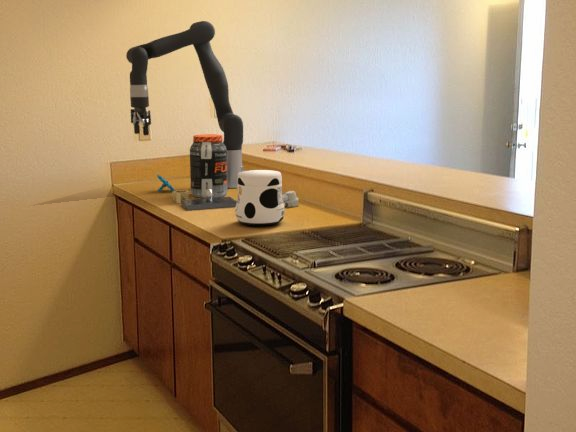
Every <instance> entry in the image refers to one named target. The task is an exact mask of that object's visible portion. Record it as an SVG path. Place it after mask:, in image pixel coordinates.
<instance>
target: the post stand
mask: <svg viewBox="0 0 576 432" xmlns="http://www.w3.org/2000/svg"><path fill="white" fill-rule="evenodd" d="M236 204H237V200H236V199H234V198H232V197H231V196H222V197H214V198H212V189H206V198H191V199H190V198H189V199H188V200H181V204H180V205H181V206H182V207H183V208H184V209H185V210H186V211H196V210H198V211H199V210H210V209H211V210H212V209H213V210H214V209H225V208H236Z"/></svg>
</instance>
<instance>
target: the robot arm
mask: <svg viewBox="0 0 576 432" xmlns="http://www.w3.org/2000/svg"><path fill="white" fill-rule="evenodd" d="M215 35H216V30H215V27H214V25H213V23H211V22H209V21H206V20H201V21H196V22H194V23H192V24H191V25H190V26H189V29H187V30H184V31H181V32H177V33H174V34H173V33H172V34H170V35H167V36H162V37H160V38H157V39H154V40H151V41H150V42H147V43H143V44H139V45H136V46H133V47H131V48H129V49H127V52H126V55H125V57H126V60H127V62H128V63H130V64H131V71H130V72H129V98H130V107H131V108H132V109H130V124H132V125H133V128H134V129H133V130H134V131H133V132H134V134H135V135H138V134H140V133H141V130H140V122H141V124H142V132H143V133H142V134H143V135H144V136H149V135H150V133H149V131H150V129H149V126H150V125H152V117H151V110H150V109H147V108H149V106H150V102H149V101H150V99H149V88H148V79H147V78H148V75H147V72H148V64H149V60H151V59H157V58H161V57H163V56H166V55H168V54H171V53H173V52H175V51H178V50H180V49H183V48H186V47H188V46H192V45H193V48H194V50H195V53H196V54H197V58H198V61H199V64H200V67H201V71H202V74H203V77H204V80H205V84H206V86H207V89H208V91H209V95H210V98H211V101H212V102H213V106H214V110H215V112H216V113H215V114H216V117H217V119H216V120H217V123H218V127H219V129H220V131H221V132H222V133H223V141H222V143H223V144H224V145H225V146H226V149H227V189H238V188H237V185H238V182H237V178H238V173H239V172H242V171H245V170H244V165H243V152H242V151H243V150H242V149H243V142H244V123H243V122H244V121H243V120H242V118H241V116H239V115H237V114H235V113H234V112H233V108H232V105H231V103H230V99H229V97H230V96H229V94H230V93H229V83H228V79H227V76H226V71H225V70H224V67H223V65H222V64H221V62H220V61H219V59H218V58H217V56H216V55H215V53H214V51H213V48H212V45H211V41H212V40H213V39H214V37H215Z"/></svg>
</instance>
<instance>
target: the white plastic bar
mask: <svg viewBox="0 0 576 432" xmlns="http://www.w3.org/2000/svg"><path fill="white" fill-rule="evenodd" d="M282 200H283V204H284V208H285V207H286V208H295V207H297V206H299V197H297V195H296V192H295V190H288V191H286V192H285V193H282Z"/></svg>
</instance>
